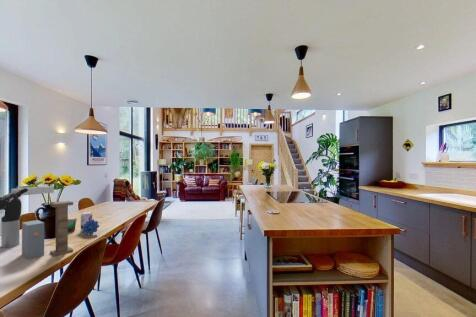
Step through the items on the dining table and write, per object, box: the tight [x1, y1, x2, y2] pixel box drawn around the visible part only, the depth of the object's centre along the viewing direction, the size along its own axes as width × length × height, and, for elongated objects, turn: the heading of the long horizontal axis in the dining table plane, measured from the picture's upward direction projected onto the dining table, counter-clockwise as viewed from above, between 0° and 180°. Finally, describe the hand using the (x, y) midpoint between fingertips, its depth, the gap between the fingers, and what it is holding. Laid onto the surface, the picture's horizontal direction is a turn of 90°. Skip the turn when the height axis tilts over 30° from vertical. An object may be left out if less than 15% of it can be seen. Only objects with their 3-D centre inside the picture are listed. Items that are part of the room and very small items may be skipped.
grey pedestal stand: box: [49, 200, 74, 257], centre depth 157 cm, size 8×10×32 cm
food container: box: [68, 218, 78, 233], centre depth 202 cm, size 12×6×10 cm, turn 105°
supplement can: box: [80, 211, 93, 233], centre depth 203 cm, size 8×8×15 cm
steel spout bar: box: [10, 185, 55, 196], centre depth 153 cm, size 4×20×4 cm, turn 144°
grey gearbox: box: [21, 219, 45, 260], centre depth 153 cm, size 13×8×20 cm, turn 54°
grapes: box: [81, 219, 100, 236], centre depth 194 cm, size 12×7×12 cm, turn 110°
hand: (25, 189), depth 150 cm, fingers closed on steel spout bar, 4 cm apart
